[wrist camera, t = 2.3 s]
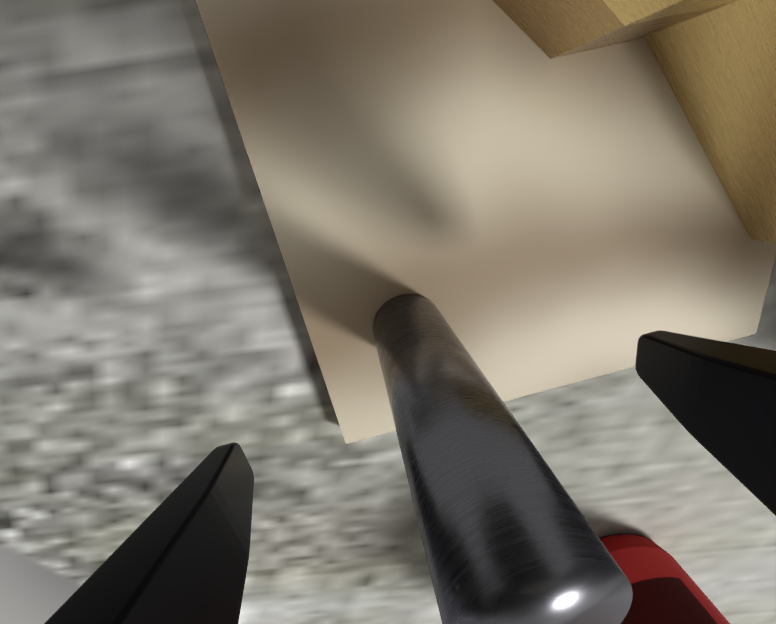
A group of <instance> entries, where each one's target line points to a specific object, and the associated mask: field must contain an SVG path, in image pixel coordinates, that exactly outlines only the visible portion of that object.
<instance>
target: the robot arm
mask: <svg viewBox="0 0 776 624" xmlns="http://www.w3.org/2000/svg"><path fill="white" fill-rule="evenodd" d="M635 367H636V371H637V373H638V375H639V376H640V378H641V379H642V380H643V381H644V382H645V383H646V385H647V386H648V387H649V388H650V389H651V390H652V391H653V393H654V394H655V395H656V396H657V397H658V398H659V399H660V401H661V402H662V403H663V404H664V405H665V406H666V407H667V408H668V410H669V411H670V412H671V413H672V414H673V415H674V416H675V418H676V419H677V420H678V421H679V422H680V423H681V424H682V425H683V426H684V428H685V429H686V430H687V431H688V432H689V433H690V434H691V435H692V436H693V437H694V438H695V439H696V440H697V441H698V442H699V443H700V444H701V445H702V446H703V447H704V448H705V449H706V450H707V451H709V452H710V453H711V454H712V455H713V456H714V457H715V458H716V459H717V460H718V461H719V462H720V463H721V464H722V465H723V466H724V467H725V468H726V469H727V470H728V471H730V472H731V473H732V474H733V475H734V476H735V477H736V478H737V479H738V480H739V481H740V482H741V483H742V484H743V485H744V486H745V487H746V488H747V489H748V490H749V491H750V492H752V493H753V494H754V495H755V496H756V497H757V498H758V499H759V500H760V501H761V502H762V503H763V504H764V505H765V506H766V507H767V508H768V509H769V510H770V511H771V512H773V513H774V514H775V515H776V351H772V350H767V349H761V348H756V347H750V346H745V345H739V344H734V343H728V342H723V341H717V340H712V339H706V338H701V337H695V336H690V335H684V334H679V333H673V332H668V331H662V330H659V331H654V332H650V333H646V334H643V335H641V336H640V337H639V339H638V343H637V353H636V363H635ZM253 486H254V476H253V471H252V468H251V466H250V464H249V462H248V460H247V458H246V456H245V454H244V452H243V450H242V449H241V447H240V445H239V444H238V443H230V444H226V445H222V446H219V447H216V448H215V449H214V450H213V451H212V452H211V453H210V454H209V455H208V456H207V457H206V458H205V459H204V460H203V461H202V462H201V463H200V464H199V465H198V466H197V467H196V468H195V469H194V470H193V472H192V473H191V474H190V475H189V476H188V477H187V478H186V479H185V480H184V481H183V482H182V483H181V484H180V485H179V486H178V487H177V488H176V489H175V490H174V491H173V492H172V493H171V494H170V495H169V496H168V497H167V498H166V499H165V500H164V501H163V502H162V503H161V504H160V505H159V506H158V507H157V509H156V510H155V511H154V512H153V513H152V514H151V515H150V516H149V517H148V518H147V519H146V520H145V521H144V522H143V523H142V524H141V525H140V526H139V527H138V528H137V529H136V530H135V531H134V532H133V533H132V534H131V535H130V536H129V537H128V538H127V539H126V540H125V541H124V542H123V543H122V544H121V545H120V547H119V548H118V549H117V550H116V551H115V552H114V553H113V554H112V555H111V556H110V557H109V558H108V559H107V560H106V561H105V562H104V563H103V564H102V565H101V566H100V567H99V568H98V569H97V570H96V571H95V572H94V573H93V574H92V575H91V576H90V577H89V578H88V579H87V580H86V581H85V582H84V583H83V584H82V586H81V587H80V588H79V589H78V590H77V591H76V592H75V593H74V594H73V595H72V596H71V597H70V598H69V599H68V600H67V601H66V602H65V603H64V604H63V605H62V606H61V607H60V608H59V609H58V610H57V611H56V612H55V613H54V614H53V615H52V617H50V618H49V619H48V620H47V621H46V622H45V624H238V621H239V615H240V609H241V603H242V596H243V590H244V584H245V578H246V572H247V566H248V559H249V549H250V536H251V519H252V503H253Z"/></svg>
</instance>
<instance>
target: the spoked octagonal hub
mask: <svg viewBox="0 0 776 624" xmlns="http://www.w3.org/2000/svg"><path fill="white" fill-rule="evenodd" d="M493 1H494V2H495V4H496V5H497V6H498V7H499V8H500V9H501V10H502V11H503V12H504V13H505V14H506V15H507V16H508V17H509V18H510V19H511V20H512V21H513V22H514V23H515V24H516V25H517V26H518V27H519V28H520V29H521V30H522V31H523V32H524V33H525V34H526V35H527V36H528V37H529V38H530V39H531V40H532V41H533V42H534V43H535V44H536V45H537V46H538V47H539V48H540V49H541V50H542V51H543V52H544V53H545V54H546V55H547V56H548V57H549V58H550V59H552V58H557V57H561V56H566V55H570V54H575V53H579V52H584V51H589V50H593V49H598V48H602V47H607V46H611V45H616V44H620V43H625V42H629V41H634V40H637V39H639V38H642V37H644V38H645V40H646V42H647V44H648V46H649V48H650V49H651V51H652V53H653V55H654V57H655V59H656V61H657V63H658V65H659V67H660V68H661V70H662V72H663V74H664V76H665V78H666V80H667V82H668V84H669V85H670V87H671V89H672V91H673V93H674V95H675V97H676V99H677V101H678V103H679V104H680V106H681V108H682V110H683V112H684V114H685V116H686V118H687V120H688V122H689V123H690V125H691V127H692V129H693V131H694V133H695V135H696V137H697V139H698V140H699V142H700V144H701V146H702V148H703V150H704V152H705V154H706V156H707V158H708V159H709V161H710V163H711V165H712V167H713V169H714V171H715V173H716V175H717V177H718V178H719V180H720V182H721V184H722V186H723V188H724V190H725V192H726V194H727V195H728V197H729V199H730V201H731V203H732V205H733V207H734V209H735V211H736V213H737V214H738V216H739V218H740V220H741V222H742V224H743V226H744V228H745V230H746V232H747V233H748V235H749V237H750V239H754V240H759V241H764V242H769V243H774V244H776V0H493Z"/></svg>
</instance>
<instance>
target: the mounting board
mask: <svg viewBox="0 0 776 624" xmlns="http://www.w3.org/2000/svg"><path fill="white" fill-rule="evenodd" d="M195 1H196V4H197V7H198V10H199V13H200V16H201V19H202V22H203V25H204V28H205V31H206V34H207V36H208V39H209V42H210V45H211V48H212V51H213V54H214V57H215V60H216V63H217V66H218V69H219V72H220V75H221V78H222V81H223V84H224V86H225V89H226V92H227V95H228V98H229V101H230V104H231V107H232V110H233V113H234V116H235V119H236V122H237V125H238V128H239V131H240V134H241V136H242V139H243V142H244V145H245V148H246V151H247V154H248V157H249V160H250V163H251V166H252V169H253V172H254V175H255V178H256V181H257V184H258V186H259V189H260V192H261V195H262V198H263V201H264V204H265V207H266V210H267V213H268V216H269V219H270V222H271V225H272V228H273V231H274V234H275V236H276V239H277V242H278V245H279V248H280V251H281V254H282V257H283V260H284V263H285V266H286V269H287V272H288V275H289V278H290V281H291V283H292V286H293V289H294V292H295V295H296V298H297V301H298V304H299V307H300V310H301V313H302V316H303V319H304V322H305V325H306V328H307V331H308V333H309V336H310V339H311V342H312V345H313V348H314V351H315V354H316V357H317V360H318V363H319V366H320V369H321V372H322V375H323V378H324V381H325V383H326V386H327V389H328V392H329V395H330V398H331V401H332V404H333V407H334V410H335V413H336V416H337V419H338V422H339V425H340V428H341V431H342V433H343V436H344V439H345V442H346V444H348V443H352V442H356V441H359V440H363V439H367V438H370V437H374V436H378V435H382V434H385V433H389V432H393V431H396V428H395V423H394V419H393V415H392V411H391V407H390V403H389V398H388V394H387V390H386V386H385V382H384V378H383V373H382V369H381V365H380V361H379V357H378V352H377V348H376V344H375V340H374V336H373V328H372V326H373V320H374V317H375V315H376V313H377V311H378V310H379V308H380V307H381V306H382V305H383V304H384V303H385V302H386V301H388V300H389V299H391V298H393V297H395V296H398V295H401V294H418V295H421V296H424V297H426V298H428V299H429V300H430V301H432V302H433V303H434V305H435V306H436V307H437V309H438V310H439V311H440V313H441V314H442V316H443V317H444V318H445V320H446V321H447V323H448V324H449V326H450V327H451V328H452V330H453V331H454V333H455V334H456V336H457V337H458V338H459V340H460V341H461V343H462V344H463V345H464V347H465V348H466V350H467V351H468V353H469V354H470V355H471V357H472V358H473V360H474V361H475V363H476V364H477V365H478V367H479V368H480V370H481V371H482V372H483V374H484V375H485V377H486V378H487V380H488V381H489V382H490V384H491V385H492V387H493V388H494V390H495V391H496V392H497V394H498V395H499V397H500V398H501V399H502V401H503V402H504V401H508V400H512V399H515V398H519V397H523V396H527V395H530V394H534V393H538V392H542V391H545V390H549V389H553V388H556V387H560V386H564V385H568V384H571V383H575V382H579V381H582V380H586V379H590V378H594V377H597V376H601V375H605V374H608V373H612V372H616V371H620V370H623V369H627V368H631V367H635V363H636V353H637V343H638V339H639V337H640V336H641V335H643V334H646V333H650V332H654V331H659V330H662V331H668V332H673V333H679V334H684V335H690V336H695V337H701V338H706V339H712V340H717V341H723V342H728V341H731V340H735V339H739V338H742V337H746V336H750V335H754V334H756V332H757V328H758V324H759V321H760V317H761V313H762V309H763V305H764V301H765V297H766V294H767V290H768V286H769V282H770V278H771V274H772V270H773V267H774V263H775V259H776V244H774V243H769V242H764V241H759V240H754V239H750V237H749V235H748V233H747V232H746V230H745V228H744V226H743V224H742V222H741V220H740V218H739V216H738V214H737V213H736V211H735V209H734V207H733V205H732V203H731V201H730V199H729V197H728V195H727V194H726V192H725V190H724V188H723V186H722V184H721V182H720V180H719V178H718V177H717V175H716V173H715V171H714V169H713V167H712V165H711V163H710V161H709V159H708V158H707V156H706V154H705V152H704V150H703V148H702V146H701V144H700V142H699V140H698V139H697V137H696V135H695V133H694V131H693V129H692V127H691V125H690V123H689V122H688V120H687V118H686V116H685V114H684V112H683V110H682V108H681V106H680V104H679V103H678V101H677V99H676V97H675V95H674V93H673V91H672V89H671V87H670V85H669V84H668V82H667V80H666V78H665V76H664V74H663V72H662V70H661V68H660V67H659V65H658V63H657V61H656V59H655V57H654V55H653V53H652V51H651V49H650V48H649V46H648V44H647V42H646V40H645V38H644V37H642V38H639V39H637V40H634V41H629V42H625V43H620V44H616V45H611V46H607V47H602V48H598V49H593V50H589V51H584V52H579V53H575V54H570V55H566V56H561V57H557V58H552V59H550V58H549V57H548V56H547V55H546V54H545V53H544V52H543V51H542V50H541V49H540V48H539V47H538V46H537V45H536V44H535V43H534V42H533V41H532V40H531V39H530V38H529V37H528V36H527V35H526V34H525V33H524V32H523V31H522V30H521V29H520V28H519V27H518V26H517V25H516V24H515V23H514V22H513V21H512V20H511V19H510V18H509V17H508V16H507V15H506V14H505V13H504V12H503V11H502V10H501V9H500V8H499V7H498V6H497V5H496V4H495V2H494V1H493V0H195Z"/></svg>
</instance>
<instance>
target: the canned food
mask: <svg viewBox="0 0 776 624" xmlns="http://www.w3.org/2000/svg"><path fill="white" fill-rule="evenodd" d="M600 540H601V541H602V543H603V544H604V546H605V547H606V549H607V550H608V551H609V553H610V554H611V556H612V557H613V559H614V560H615V561H616V563H617V564H618V566H619V567H620V568H621V570H622V571H623V573H624V574H625V576H626V577H627V578H628V580H629V582H630V584H631V586H632V591H633V597H632V603H631V606H630V609H629V611H628V613H627V615H626V616H625V618H624V620H623V621H622V622H621V624H730V623H729V622H728V621H727V620H726V618H725V617H724V616H723V615H722V614H721V613H720V611H719V610H718V609H717V608H716V607H715V606H714V605H713V603H712V602H711V601H710V600H709V599H708V598H707V596H706V595H705V594H704V593H703V592H702V591H701V589H700V588H699V587H698V586H697V585H696V584H695V582H694V581H693V580H692V579H691V578H690V577H689V575H688V574H687V573H686V572H685V571H684V570H683V568H682V567H681V566H680V565H679V564H678V563H677V562H676V560H675V559H674V558H673V557H672V556H671V555H670V554H668V553H667V552H666V551H664V550H663V549H662V548H661V547H659V546H658V545H657V544H655V543H654V542H653V541H651V540H650V539H647V538H645V537H643V536H637V535H630V534H625V535H613V536H607V537H603V538H600Z"/></svg>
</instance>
